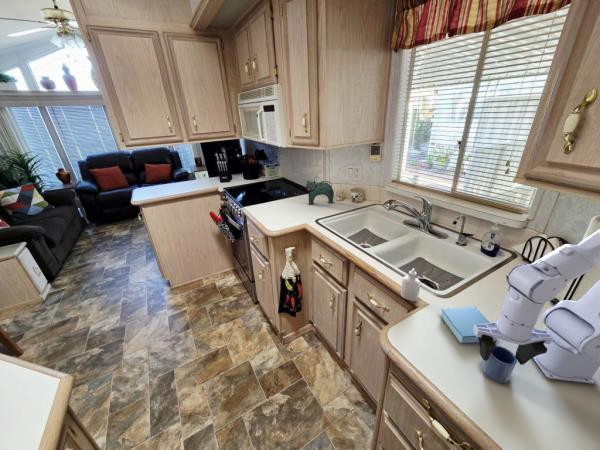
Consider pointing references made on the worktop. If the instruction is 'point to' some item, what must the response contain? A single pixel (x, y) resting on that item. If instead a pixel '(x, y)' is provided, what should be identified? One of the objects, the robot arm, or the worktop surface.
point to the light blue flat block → (464, 322)
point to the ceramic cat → (319, 190)
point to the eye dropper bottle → (410, 286)
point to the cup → (500, 364)
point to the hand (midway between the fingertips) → (500, 358)
